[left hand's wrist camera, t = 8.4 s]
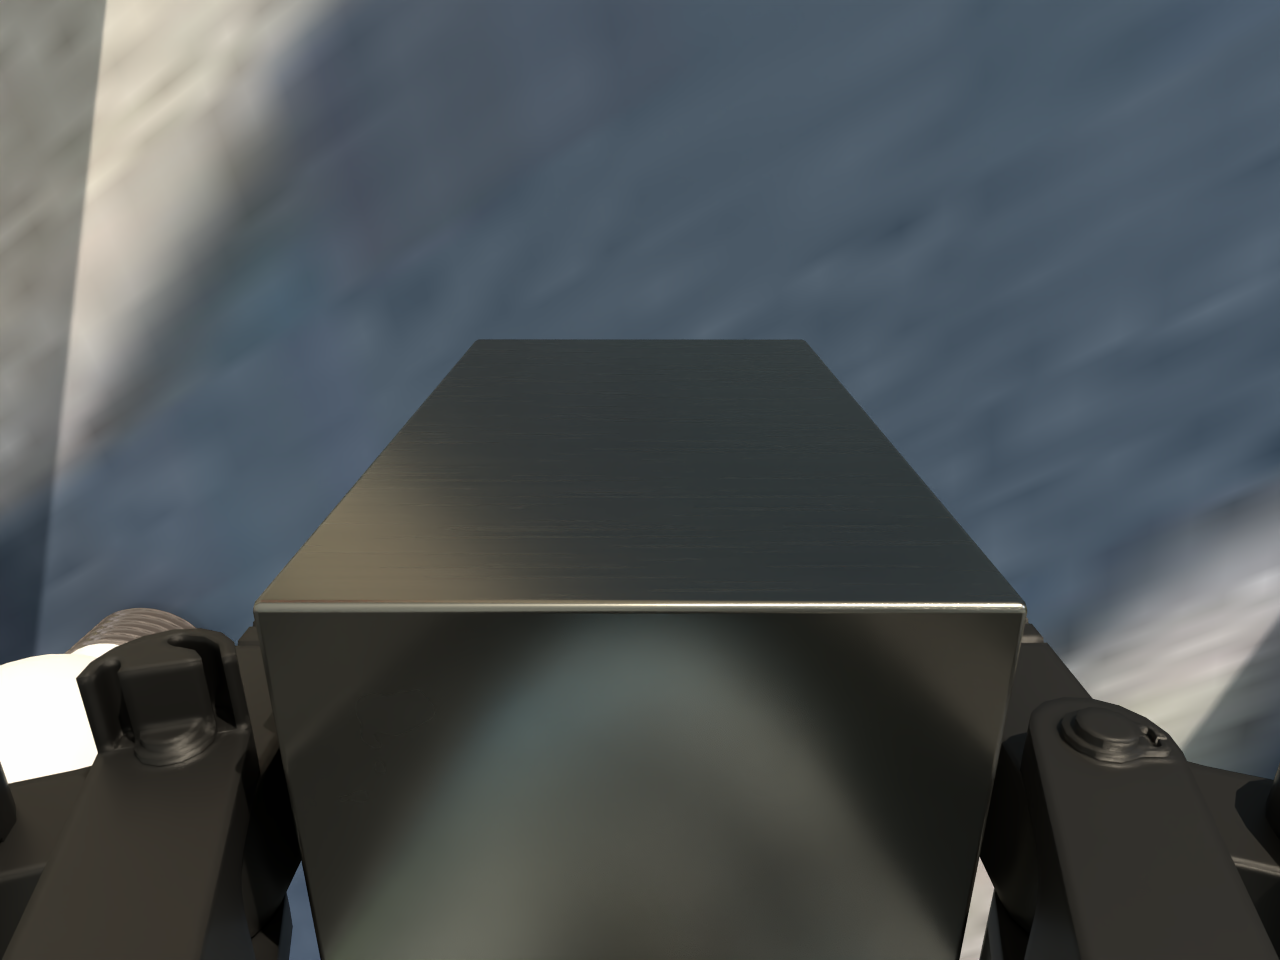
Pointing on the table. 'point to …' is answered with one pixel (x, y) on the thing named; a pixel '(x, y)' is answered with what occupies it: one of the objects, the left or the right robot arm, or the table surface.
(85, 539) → the table surface
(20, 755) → the light bulb
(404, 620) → the bar
